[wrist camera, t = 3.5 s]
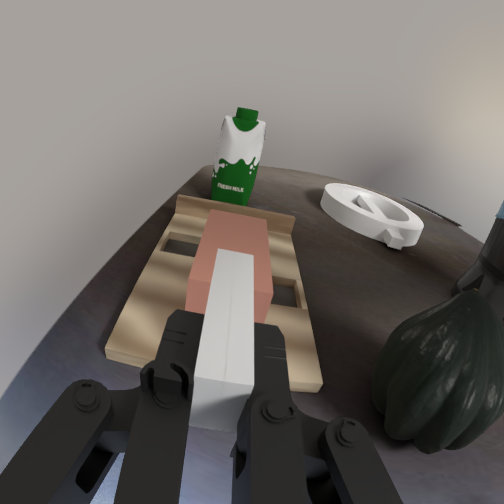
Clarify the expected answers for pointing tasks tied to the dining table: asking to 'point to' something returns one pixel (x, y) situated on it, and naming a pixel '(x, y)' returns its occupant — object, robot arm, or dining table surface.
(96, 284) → the dining table surface
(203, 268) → the brick
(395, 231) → the ring with crossbar
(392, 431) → the squash
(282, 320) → the board
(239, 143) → the milk carton
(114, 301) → the dining table surface
